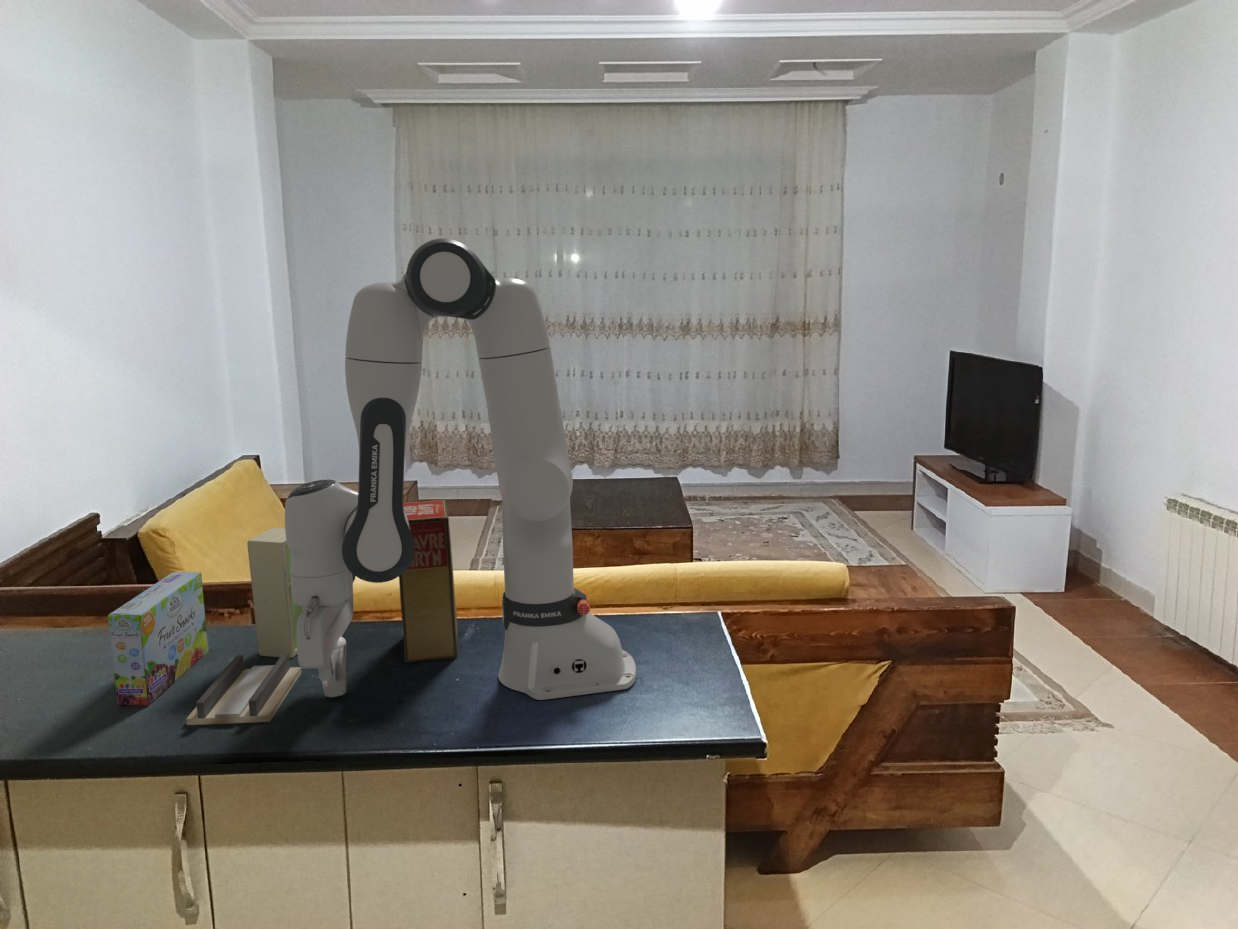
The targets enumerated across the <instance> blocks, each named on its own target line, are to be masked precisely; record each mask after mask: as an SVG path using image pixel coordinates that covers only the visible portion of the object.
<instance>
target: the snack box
mask: <svg viewBox="0 0 1238 929" xmlns="http://www.w3.org/2000/svg"><path fill="white" fill-rule="evenodd" d="M202 578H203V577H202V572H201V571H197V572H196V571H195V572H194V571H189V572H188V571H178V572H177V571H175V572H170V574H168V575H166V576H165V577H163V578H162V579H160V580H158V582H156V583H154V584H153V585H151V586H150V587H148V588H147V589H146V590H144V591H141V593H139V594H138V595H136V596H135V597H133V598H132V599H130V600H129V601H127V602H126V603H124V604H123V605H121V606H120V607H118V608H116V609H115V610H114V611H112V612H110V613H109V614H108V615H107V620H108V629H109V631H108V632H109V637H110V647H111V658H112V666H113V676H114V683H115V684H114V685H115V694H116V695H115V696H116V702H117V704H116V705H117V706H138V707H140V706H141V707H142V706H143V707H145V706H150V705H151V704H152V703H153V702H155V700H156V699H158V698H159V697H160V696H161V695H162V694H163V693H164V692H165V691H166V690H167V689H169V687H171V686H172V685H173V684H174V683H175V682H176V681H177V680H179V679H180V677H182V676H183V675H184V674H185V673H187V671H188V670H190V669H191V668H192V667H193V666H194V665H196V663H197V662H199V661H200V660H201V659H202V658H203V657H204V656H205V655H207V653H209V643H208V633H207V622H206V614H205V603H204V602H205V601H204V592H203V579H202Z"/></svg>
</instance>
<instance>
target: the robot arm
mask: <svg viewBox="0 0 1238 929" xmlns="http://www.w3.org/2000/svg"><path fill="white" fill-rule="evenodd" d="M351 306H352V307H351V310H350V314H349V320H348V325H347V333H346V342H345V353H344V354H345V355H344V356H345V357H344V358H345V359H344V372H345V385H346V392H347V397H348V398H347V399H348V403H349V408H350V413H351V416H352V418H353V419H352V420H353V423H354V427H355V431H356V436H357V442H358V457H359V459H358V482H357V483H358V488H357V490H354V489H353V488H350V487H347V486H345V485H343V484H342V483H340V482H338V480H334V479H329V478H328V479H327V478H326V479H319V480H314V481H310V482H307V483H304V484H302V485H300V486H298V487H296V488H294V490H292V491H291V492H290V493H289V495H288V496H287V498H286V499H285V504H284V505H285V506H284V529H285V533H286V543H287V547H288V549H289V551H290V555H291V564H290V579H291V588H292V597H293V602H294V603H295V604H297V605H299V606H302V608H303V613H302V614H301V615H300V617H299V618H298V621H297V652H298V654H297V663H298V665H299V667H301V670H302V669H303V670H305V669H307V670H309V669H310V670H311V669H317V670H318V677H319V680H320V681H321V682H322V681H327V680H330V679H331V678H332V676H333V666H331V663H330V658H331V654H332V652H333V651H334V649H335V647H336V646H337V644H338V641H339V639H340V637H343V635H344V633H345V632H346V630H347V628H348V626H350V623H351V622H352V620H353V617H354V616H353V615H354V582H355V580H356V578H357V579H360V580H361V581H365V582H368V583H373V584H377V583H378V584H379V583H380V584H381V583H387V582H390V581H393V580H395V579H398V578H399V576H400V575H402V574H403V573H404V572H405V571H406V570H407V569H408V568H409V566H410V565H411V563H412V561H413V558H414V554H415V543H414V539H413V536H412V533H411V531H410V527H409V522H408V518H407V514H406V512H405V510H404V508H403V503H404V490H405V489H404V487H405V486H404V485H405V484H404V482H405V481H404V479H405V458H406V457H405V453H406V446H407V440H408V435H409V432H410V431H409V430H410V428H411V425H412V421H413V416H414V412H415V408H416V404H417V401H418V396H419V392H420V386H421V380H422V378H421V377H422V370H423V368H422V367H423V366H422V365H423V350H424V349H423V346H424V337H425V333H426V329H427V327H428V326H429V324H430V322H432V321H433V320H434V319H435V318H438V317H444V318H445V317H446V318H448V317H449V318H457V319H463V320H464V319H465V320H466V321H467V323H468V324H469V325H470V328H471V330H472V332H473V336H474V340H475V345H476V346H475V347H476V351H477V357H478V363H479V369H480V374H481V380H482V385H483V393H484V396H485V403H486V407H487V409H486V410H487V414H488V423H489V429H490V435H491V441H492V449H493V455H494V460H495V462H494V463H495V469H496V474H497V481H498V487H499V488H498V489H499V492H500V495H501V496H500V497H501V511H502V512H501V516H502V518H501V519H502V553H503V554H502V555H503V556H502V557H503V574H504V576H503V577H504V592H503V593H502V594H503V595H502V600H501V612H502V615H501V616H502V624H503V628H504V640H503V641H504V644H503V650H502V659H501V663H500V668H499V671H498V674H497V675H498V677H497V678H498V680H499V682H500V683H501V684H502V685H503V686H505V687H507V688H509V689H510V690H512V691H513V690H514V691H517V692H520V693H524V694H526V695H527V696H529V697H531V698H532V699H535V700H536V701H537V700H538V701H544V700H551V699H559V698H567V697H573V696H574V697H575V696H583V695H589V694H598V693H605V692H612V691H613V692H614V691H621V690H627V689H629V688H630V687H632V686H633V685H634V683H635V681H636V678H637V666H636V663H635V662H636V661H635V659H634V658H633V656H632V655H631V654H630V653H629V652H628V651H626V650H624V649H623V647H622V645H621V644H622V643H621V640H620V638H619V636H618V634H617V632H616V630H615V629H614V628H613V626H611V625H609V624H608V623H606V622H605V621H603V620H602V619H600V618H598V617H597V616H595V615H594V614H592V613H591V612H590V610H591V604H590V602H589V601H588V598H587V594H585V591H584V589H583V588H580V590H579V589H577V588H575V587H574V581H575V580H574V553H573V552H574V550H573V549H574V547H573V546H574V545H573V533H572V529H573V528H572V514H571V512H572V511H571V496H572V494H573V493H572V492H573V485H574V481H573V480H574V479H573V473H572V472H573V471H572V468H571V460H570V456H569V450H568V445H567V437H566V433H565V427H564V421H563V415H562V410H561V404H560V403H561V402H560V398H559V391H558V385H557V380H556V373H555V366H554V361H553V355H552V348H551V342H550V338H549V332H548V329H547V324H546V320H545V317H544V316H545V315H544V313H543V310H542V307H541V304H540V301H539V299H538V296H537V293H536V291H535V289H534V288H533V286H531V284H530V283H529V282H527V281H525V280H522V279H519V278H515V277H498V278H497V277H495V276H493V275H492V273H491V272H490V271H489V270H488V268H487V267H486V266H485V264H484V263H483V262H482V260H481V259H480V258H479V256H478V255H477V254H476V252H474V250H472V249H471V248H470V247H468V245H466V244H464V243H463V242H460V241H458V240H455V239H452V238H446V237H445V238H435V239H431V240H428V241H427V242H425V243H423V244H421V245H420V246H419V247H418V248H417V249H416V250H415V251H414V253H413V254H412V255H411V257H410V259H409V261H408V264H407V268H406V271H405V273H404V274H403V276H402V278H401V279H400V280H398V281H396V282H376V283H372V284H369V285H366V286H363V287H362V288H361V289H359V290H358V291H357V293H356V295H355V296H354V298H353V301H352V305H351Z"/></svg>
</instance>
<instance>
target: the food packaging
mask: <svg viewBox="0 0 1238 929" xmlns="http://www.w3.org/2000/svg"><path fill="white" fill-rule="evenodd" d="M403 508H404V510H405V512H406V514H407V518H408V522H409V527H410V531H411V533H412V536H413V539H414V543H415V554H414V558H413V561H412V563H411V565H410V566H409V568H408V569H407V570H406V571H405V572H404V573H403V574H402V575H400V576H399V577H398V582H399V583H398V584H399V599H400V600H399V601H400V611H401V612H400V613H401V614H400V615H401V624H402V630H403V631H402V632H403V644H404V645H403V647H404V661H405V663H417V662H425V661H437V660H446V659H455V658H457V657H458V656H459V654H458V653H459V651H458V619H457V618H458V617H457V602H456V593H455V581H454V580H455V579H454V578H455V577H454V568H453V567H454V565H453V555H452V554H453V553H452V541H451V528H450V519H449V510H448V505H447V500H445V499H434V500H432V499H431V500H423V501H422V500H421V501H408V502H403Z"/></svg>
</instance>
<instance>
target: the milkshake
mask: <svg viewBox="0 0 1238 929" xmlns="http://www.w3.org/2000/svg"><path fill="white" fill-rule="evenodd" d="M346 640H347V639H345V638H344V637H343V636H342V637H340V639H339V641H338V644H337V646H336V647H335V649H334V651H333V652H332V654H331V658H330V663H331V666H333V676H332V678H331V679H330V680H327V681H321V682H322V689H323V694H324V696H325V697H328V698H336V697H340V696H344V694H345V693H347V677H346V676H347V672H346V670H347V665H346V663H347V662H346V661H347V660H346V658H347V641H346Z"/></svg>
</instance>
